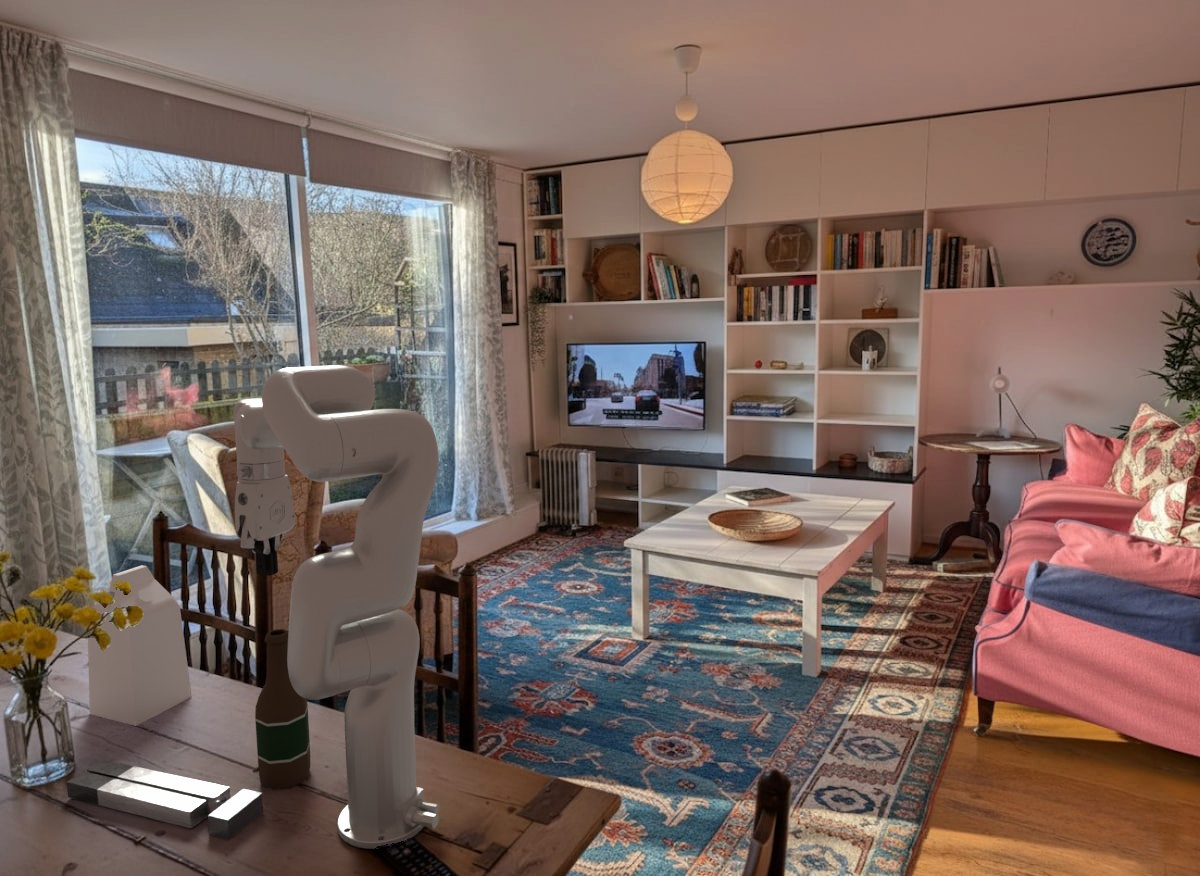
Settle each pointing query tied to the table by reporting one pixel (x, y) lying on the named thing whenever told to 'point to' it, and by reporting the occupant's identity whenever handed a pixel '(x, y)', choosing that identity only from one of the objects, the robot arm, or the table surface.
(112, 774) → the tongs arm
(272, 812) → the table surface
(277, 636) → the beer bottle
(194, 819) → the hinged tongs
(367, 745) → the robot arm
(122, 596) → the milk
